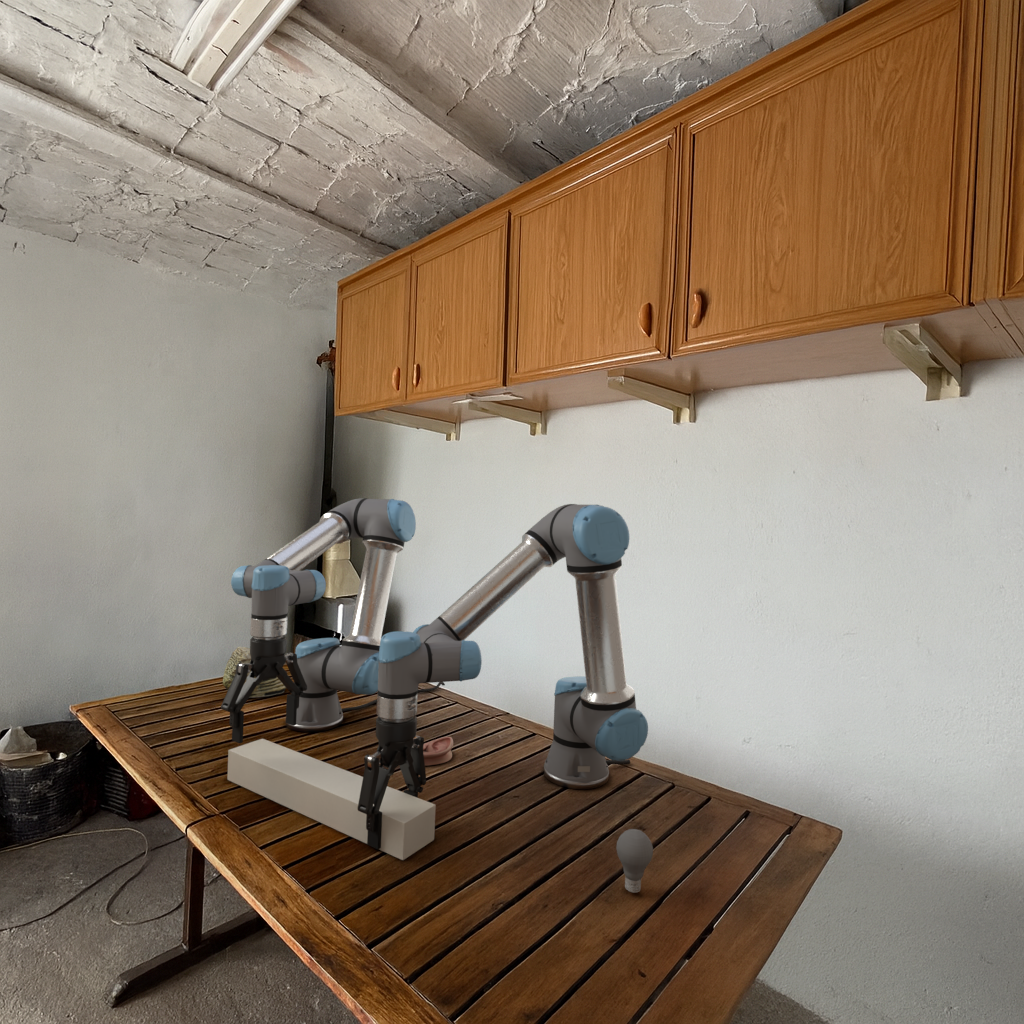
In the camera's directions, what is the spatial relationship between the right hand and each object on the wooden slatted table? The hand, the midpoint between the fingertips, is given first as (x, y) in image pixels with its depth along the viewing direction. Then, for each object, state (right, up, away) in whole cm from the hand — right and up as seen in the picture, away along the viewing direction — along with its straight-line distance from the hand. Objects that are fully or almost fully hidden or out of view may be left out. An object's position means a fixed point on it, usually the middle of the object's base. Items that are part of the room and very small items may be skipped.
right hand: (392, 835), depth 119 cm
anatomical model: (+1, 0, +37) cm, 37 cm away
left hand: (-32, +12, +21) cm, 40 cm away
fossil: (-58, +4, +79) cm, 98 cm away
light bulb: (+43, -3, -13) cm, 45 cm away
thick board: (-16, 0, +10) cm, 19 cm away
